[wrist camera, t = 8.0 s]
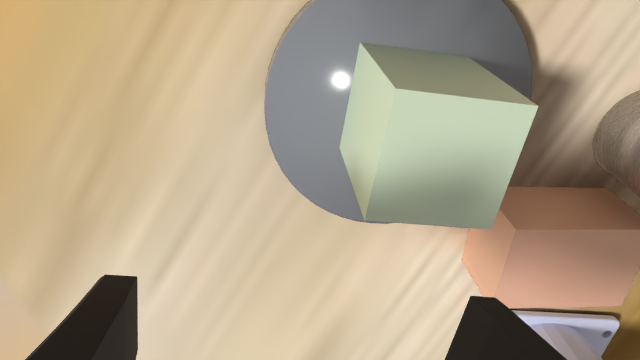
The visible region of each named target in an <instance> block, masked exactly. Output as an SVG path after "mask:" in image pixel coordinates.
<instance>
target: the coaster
mask: <svg viewBox="0 0 640 360" xmlns="http://www.w3.org/2000/svg"><path fill="white" fill-rule="evenodd" d="M360 42H363V43H370V44H377V45H384V46H391V47H399V48H406V49H413V50H420V51H428V52H435V53H442V54H449V55H457V56H464V57H469V58H471V59H472V60H473V61H475V62H476V63H478V64H479V65H481V66H482V67H483V68H485V69H486V70H488V71H489V72H491V73H492V74H493V75H495V76H496V77H498V78H499V79H501V80H502V81H504V82H505V83H506V84H508V85H509V86H511V87H512V88H514V89H515V90H516V91H518V92H519V93H521V94H522V95H524V96H525V97H526V98H528V99H529V100H530V97H531V87H532V70H531V59H530V55H529V50H528V46H527V43H526V40H525V37H524V35H523V32H522V29H521V27H520V26H519V24H518V22H517V20H516V19H515V17H514V15H513V13H512V12H511V11H510V10H509V8H508V7H507V6H506V5H505V4H504V2H503V1H502V0H310V1H308V2H307V3H306V4H305V5H304V6H303V8H302V9H301V10H300V11H299V12H298V13H297V14H296V16H295V17H294V18H293V19H292V21H291V22H290V24H289V25H288V27H287V28H286V30H285V31H284V33H283V34H282V36H281V38H280V40H279V42H278V44H277V46H276V48H275V50H274V53H273V56H272V59H271V62H270V65H269V68H268V73H267V78H266V84H265V99H264V106H265V121H266V130H267V134H268V138H269V143H270V146H271V149H272V151H273V154H274V156H275V159H276V161H277V162H278V164H279V166H280V168H281V170H282V171H283V173H284V174H285V176H286V177H287V178H288V180H289V181H290V182H291V183H292V185H293V186H294V187H295V188H296V189H297V190H298V191H299V192H300V193H301V194H302V195H303V196H305V197H306V198H307V199H309V200H310V201H311V202H313V203H314V204H315V205H317V206H319V207H321V208H323V209H324V210H326V211H328V212H330V213H333V214H335V215H338V216H340V217H343V218H347V219H351V220H354V221H360V222H367V223H385V224H387V223H393V222H380V221H366V220H364V218H363V215H362V212H361V209H360V206H359V203H358V200H357V197H356V195H355V192H354V189H353V186H352V183H351V180H350V177H349V174H348V171H347V168H346V165H345V162H344V160H343V157H342V154H341V151H340V142H341V137H342V132H343V127H344V122H345V117H346V112H347V106H348V101H349V96H350V91H351V86H352V81H353V75H354V70H355V65H356V60H357V55H358V50H359V44H360Z"/></svg>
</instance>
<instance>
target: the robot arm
mask: <svg viewBox="0 0 640 360" xmlns="http://www.w3.org/2000/svg"><path fill="white" fill-rule="evenodd" d="M619 325H620V323H619V321H618V320H617V319H616V318H615V317H614V316H609V315H590V314H571V313H553V312H534V311H515V310H510V309H509V308H508V307H507V306H506V305H504V304H503V303H502V302H501V301H499V300H498V299H497V298H495V297H479V296H470V299H469V301H468V304H467V306H466V309H465V311H464V314H463V316H462V319H461V321H460V323H459V326H458V328H457V331H456V333H455V336H454V338H453V341H452V343H451V346H450V348H449V351H448V353H447V356H446V358H445V360H603V359H602V358H601V356H602V354H603V352H604V351H605V349H606V347H607V346H608V344H609V342H610V341H611V339H612V338H613V336H614V334H615V333H616V331H617V329H618V328H619ZM137 350H138V331H137V277H135V276H118V275H104V276H103V277H101V278H100V279H99V280H98V281H97V282H96V284H95V285H94V286H93V287H92V288H91V290H90V291H89V292H88V293H87V294H86V295H85V297H84V298H83V299H82V300H81V301H80V302H79V303H78V305H77V306H76V307H75V308H74V309H73V310H72V311H71V312H70V313H69V315H68V316H67V317H66V318H65V319H64V320H63V321H62V322H61V323H60V324H59V325H58V326H57V328H56V329H55V330H54V331H53V332H52V333H51V334H50V335H49V336H48V337H47V338H46V339H45V340H44V341H43V342H42V343H41V344H40V345H39V346H38V347H37V348H36V349H35V350H34V351H33V352H32V353H31V354H30V355H29V356H28V357H27V358H26V359H25V360H136V355H137Z"/></svg>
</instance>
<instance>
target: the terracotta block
mask: <svg viewBox="0 0 640 360" xmlns="http://www.w3.org/2000/svg"><path fill="white" fill-rule="evenodd" d="M462 261H463V263H464V264H465V266H466V268H467V270H468V271H469V273H470V275H471V277H472V278H473V280H474V282H475V283H476V285H477V287H478V289H479V290H480V292H481V294H482V295H483V297H495V298H497V299H498V300H499V301H501V302H502V303H503V304H504V305H506V306H507V307H508V308H509V309H511V308H554V307H597V306H621V305H622V303H623V301H624V299H625V297H626V295H627V293H628V291H629V289H630V287H631V285H632V283H633V281H634V278H635V276H636V274H637V272H638V270H639V268H640V214H638V213H637V212H636V211H635V210H633V209H632V208H631V207H630V206H628V205H627V204H626V203H625V202H623V201H622V200H621V199H620V198H618V197H617V196H616V195H615V194H613V193H612V192H611V191H610V190H608V189H607V188H585V187H510V186H508V187H507V190H506V192H505V195H504V197H503V200H502V203H501V205H500V208H499V210H498V213H497V216H496V218H495V221H494V223H493V226H492V229H491V230H488V229H475V228H470V229H469V233H468V237H467V241H466V244H465V248H464V252H463V256H462Z"/></svg>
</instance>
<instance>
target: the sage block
mask: <svg viewBox="0 0 640 360" xmlns="http://www.w3.org/2000/svg"><path fill="white" fill-rule="evenodd" d="M537 109H538V105H536V104H535V103H534V102H532V101H531V100H529V99H528V98H526V97H525V96H524V95H522V94H521V93H519V92H518V91H516V90H515V89H514V88H512V87H511V86H509V85H508V84H506V83H505V82H504V81H502V80H501V79H499V78H498V77H496V76H495V75H493V74H492V73H491V72H489V71H488V70H486V69H485V68H483V67H482V66H481V65H479V64H478V63H476V62H475V61H473V60H472V59H471V58H469V57H464V56H457V55H449V54H442V53H435V52H428V51H420V50H413V49H406V48H399V47H391V46H384V45H377V44H370V43H363V42H360V44H359V50H358V55H357V60H356V65H355V70H354V75H353V81H352V86H351V91H350V96H349V101H348V106H347V112H346V117H345V122H344V127H343V132H342V137H341V142H340V151H341V154H342V157H343V160H344V162H345V165H346V168H347V171H348V174H349V177H350V180H351V183H352V186H353V189H354V192H355V195H356V197H357V200H358V203H359V206H360V209H361V212H362V215H363V218H364V220H366V221H380V222H393V223H407V224H420V225H434V226H447V227H461V228H475V229H488V230H491V229H492V226H493V223H494V221H495V218H496V216H497V213H498V210H499V208H500V205H501V203H502V200H503V197H504V195H505V192H506V190H507V187H508V184H509V182H510V179H511V177H512V174H513V171H514V169H515V166H516V164H517V161H518V158H519V156H520V153H521V151H522V148H523V145H524V143H525V140H526V138H527V135H528V132H529V130H530V127H531V125H532V122H533V119H534V117H535V114H536V112H537Z"/></svg>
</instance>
